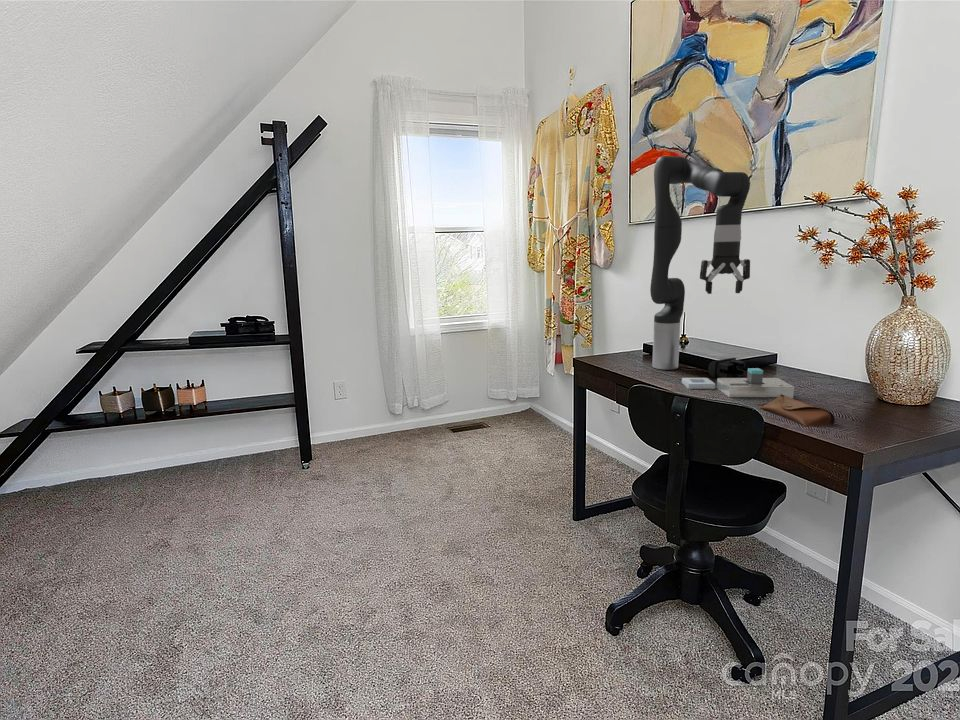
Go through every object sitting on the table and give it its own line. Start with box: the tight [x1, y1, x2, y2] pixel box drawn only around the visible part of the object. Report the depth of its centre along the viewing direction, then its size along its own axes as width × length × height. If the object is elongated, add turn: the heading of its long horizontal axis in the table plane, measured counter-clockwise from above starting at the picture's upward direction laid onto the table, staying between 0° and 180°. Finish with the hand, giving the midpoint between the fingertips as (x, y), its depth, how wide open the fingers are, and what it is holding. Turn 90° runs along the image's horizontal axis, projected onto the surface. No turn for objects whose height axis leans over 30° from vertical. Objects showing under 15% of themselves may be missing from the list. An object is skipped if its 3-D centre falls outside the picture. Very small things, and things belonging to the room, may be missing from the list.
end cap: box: [707, 357, 746, 378], centre depth 184 cm, size 10×7×7 cm
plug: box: [746, 367, 764, 384], centre depth 163 cm, size 3×3×7 cm
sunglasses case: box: [758, 394, 836, 428], centre depth 144 cm, size 18×7×7 cm, turn 14°
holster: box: [681, 377, 716, 390], centre depth 173 cm, size 8×8×2 cm
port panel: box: [716, 377, 795, 399], centre depth 164 cm, size 18×11×4 cm, turn 84°
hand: (723, 293), depth 169 cm, fingers open, 8 cm apart
